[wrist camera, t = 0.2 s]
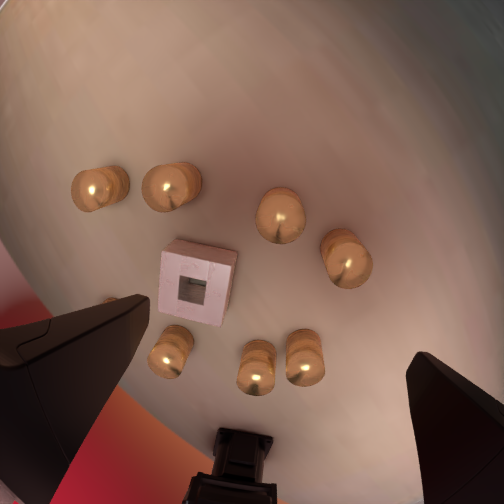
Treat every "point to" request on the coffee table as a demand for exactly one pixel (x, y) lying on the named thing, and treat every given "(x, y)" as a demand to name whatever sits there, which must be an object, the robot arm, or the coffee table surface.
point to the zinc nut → (192, 295)
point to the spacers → (272, 229)
